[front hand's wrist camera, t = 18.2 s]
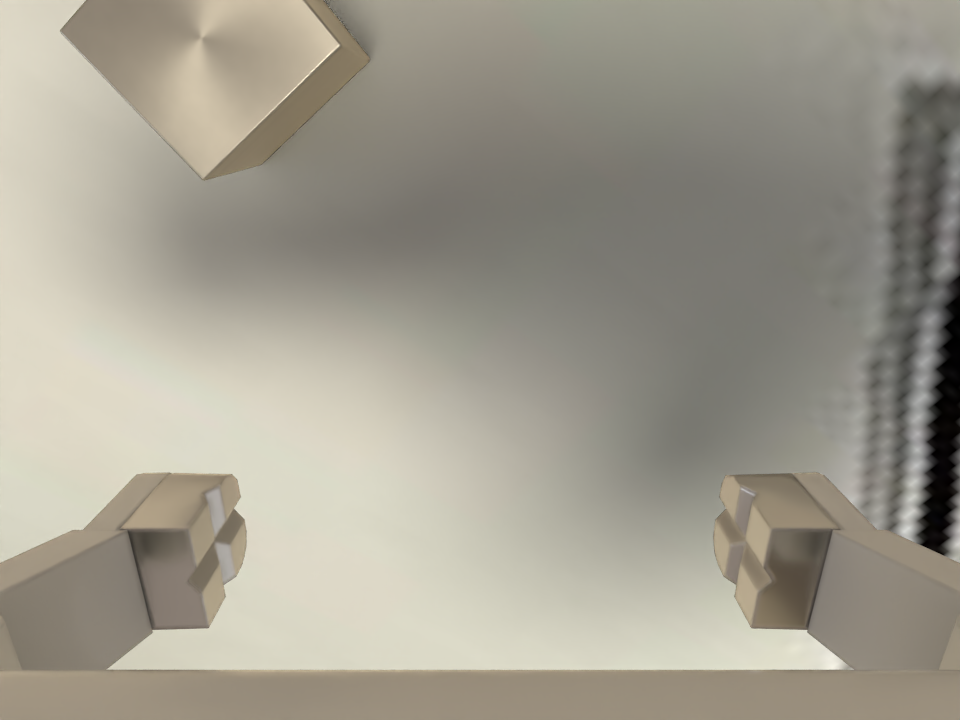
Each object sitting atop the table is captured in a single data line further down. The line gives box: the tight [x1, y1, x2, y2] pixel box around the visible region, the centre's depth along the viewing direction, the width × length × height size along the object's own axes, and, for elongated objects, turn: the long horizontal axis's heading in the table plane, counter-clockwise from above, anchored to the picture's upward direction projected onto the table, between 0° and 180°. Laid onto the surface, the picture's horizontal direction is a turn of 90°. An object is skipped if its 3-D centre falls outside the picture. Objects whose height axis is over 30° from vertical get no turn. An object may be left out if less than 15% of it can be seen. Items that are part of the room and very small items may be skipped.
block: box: [60, 0, 370, 181], centre depth 16 cm, size 4×4×4 cm
